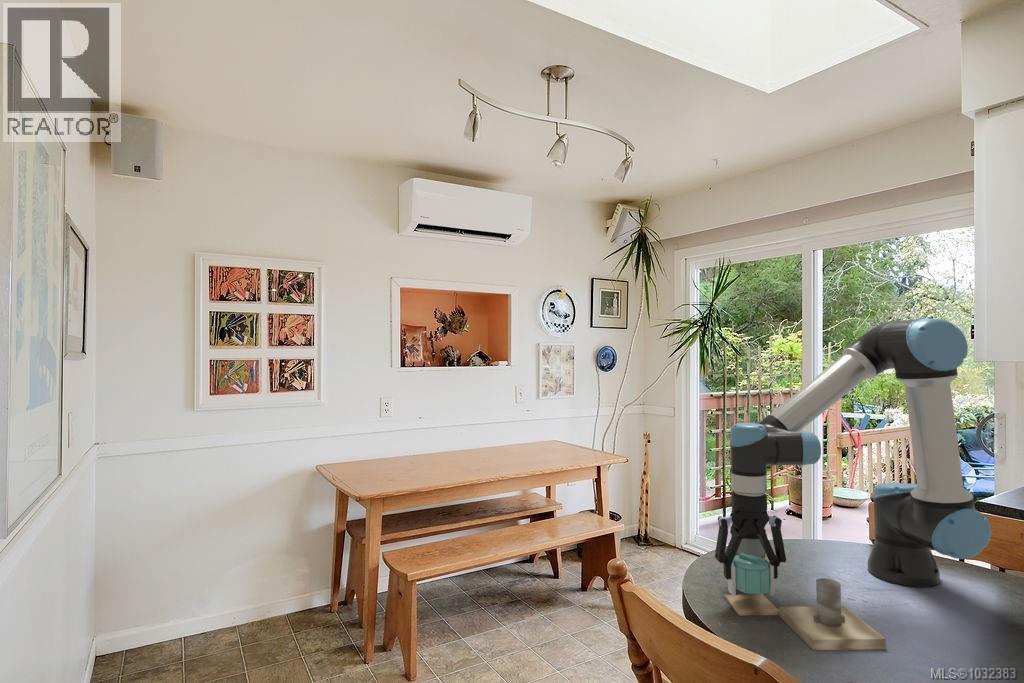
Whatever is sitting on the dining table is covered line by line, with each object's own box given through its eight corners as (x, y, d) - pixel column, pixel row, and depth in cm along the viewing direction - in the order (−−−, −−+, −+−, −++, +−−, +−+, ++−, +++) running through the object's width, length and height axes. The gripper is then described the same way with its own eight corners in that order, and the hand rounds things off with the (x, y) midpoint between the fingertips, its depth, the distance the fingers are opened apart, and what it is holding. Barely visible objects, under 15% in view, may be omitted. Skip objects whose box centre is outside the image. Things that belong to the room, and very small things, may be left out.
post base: (844, 615, 123) (842, 569, 123) (885, 649, 109) (884, 597, 109) (779, 616, 123) (778, 569, 124) (813, 650, 109) (811, 598, 110)
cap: (775, 589, 127) (775, 558, 127) (754, 596, 123) (753, 565, 123) (747, 578, 133) (747, 549, 134) (726, 584, 130) (725, 555, 130)
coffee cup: (771, 593, 134) (770, 530, 135) (734, 591, 136) (733, 528, 136) (763, 579, 143) (762, 520, 143) (728, 577, 144) (727, 518, 144)
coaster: (762, 597, 133) (762, 594, 133) (780, 614, 124) (780, 612, 124) (724, 597, 133) (724, 595, 133) (739, 615, 124) (739, 612, 124)
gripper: (786, 487, 132) (788, 585, 132) (697, 488, 133) (699, 586, 132) (803, 495, 125) (805, 599, 125) (708, 496, 125) (710, 600, 125)
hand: (750, 592), depth 128 cm, fingers closed on cap, 8 cm apart
